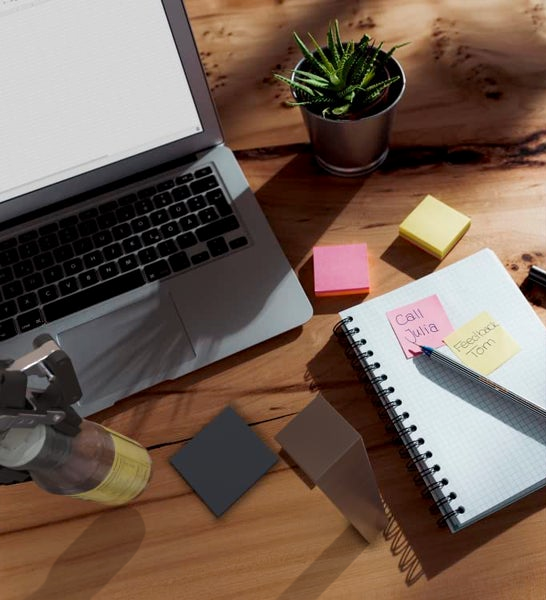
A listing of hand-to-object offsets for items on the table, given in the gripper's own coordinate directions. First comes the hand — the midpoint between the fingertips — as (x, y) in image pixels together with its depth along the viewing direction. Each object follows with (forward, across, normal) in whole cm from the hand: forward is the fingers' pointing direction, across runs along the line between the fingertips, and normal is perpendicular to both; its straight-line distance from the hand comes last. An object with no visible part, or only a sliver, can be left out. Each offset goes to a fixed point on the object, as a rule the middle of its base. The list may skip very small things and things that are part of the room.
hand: (45, 446), depth 50 cm
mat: (+27, -7, +2) cm, 28 cm away
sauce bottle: (+15, 0, 0) cm, 15 cm away
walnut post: (+27, -14, +19) cm, 36 cm away
